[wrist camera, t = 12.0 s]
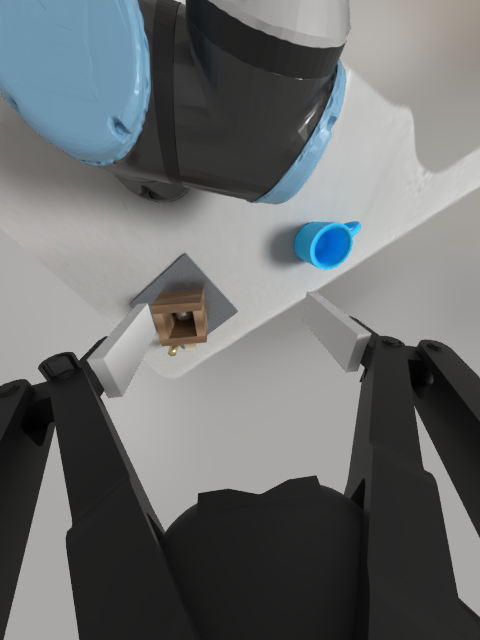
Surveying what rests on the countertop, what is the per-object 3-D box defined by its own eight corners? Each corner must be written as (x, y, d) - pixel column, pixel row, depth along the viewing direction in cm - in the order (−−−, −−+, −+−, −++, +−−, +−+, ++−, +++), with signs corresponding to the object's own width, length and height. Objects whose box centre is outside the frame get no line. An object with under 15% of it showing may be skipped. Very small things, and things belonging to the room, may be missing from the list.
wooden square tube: (161, 291, 42) (150, 306, 35) (203, 288, 43) (200, 302, 36) (174, 342, 49) (166, 363, 42) (210, 339, 50) (208, 358, 43)
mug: (301, 267, 44) (317, 277, 37) (288, 234, 40) (304, 238, 33) (349, 240, 42) (376, 245, 35) (341, 203, 39) (369, 200, 31)
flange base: (130, 303, 44) (122, 311, 40) (185, 253, 40) (182, 256, 36) (186, 348, 52) (184, 359, 48) (237, 310, 48) (239, 318, 44)
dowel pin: (171, 338, 49) (166, 352, 43) (176, 334, 48) (171, 348, 43) (177, 342, 50) (172, 357, 44) (181, 338, 49) (177, 353, 44)
